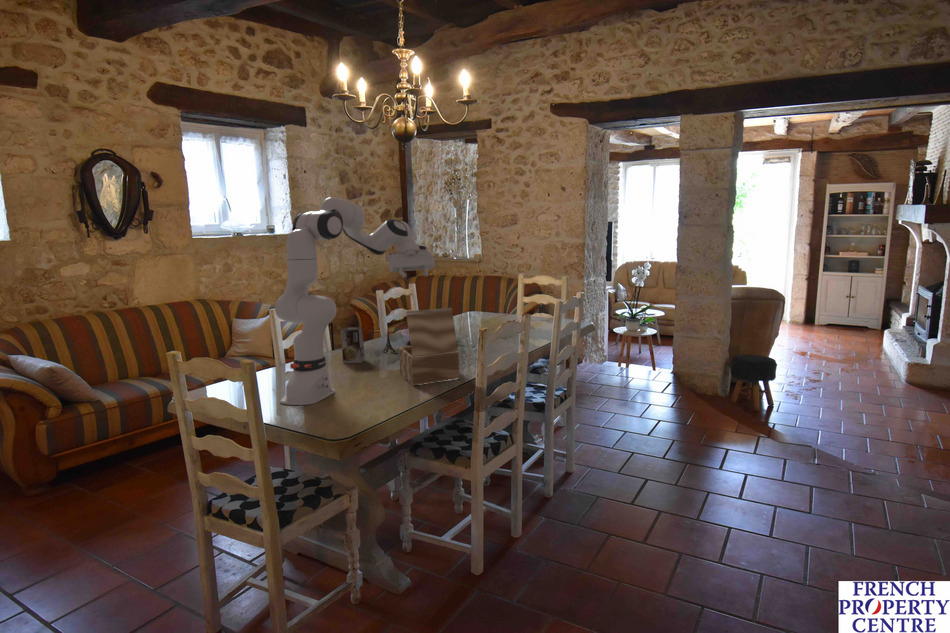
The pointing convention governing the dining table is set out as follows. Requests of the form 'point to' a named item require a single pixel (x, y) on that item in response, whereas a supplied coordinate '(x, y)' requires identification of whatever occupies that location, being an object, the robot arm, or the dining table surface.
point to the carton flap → (431, 331)
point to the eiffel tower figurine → (387, 344)
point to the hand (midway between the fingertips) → (415, 276)
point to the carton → (428, 366)
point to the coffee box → (352, 345)
